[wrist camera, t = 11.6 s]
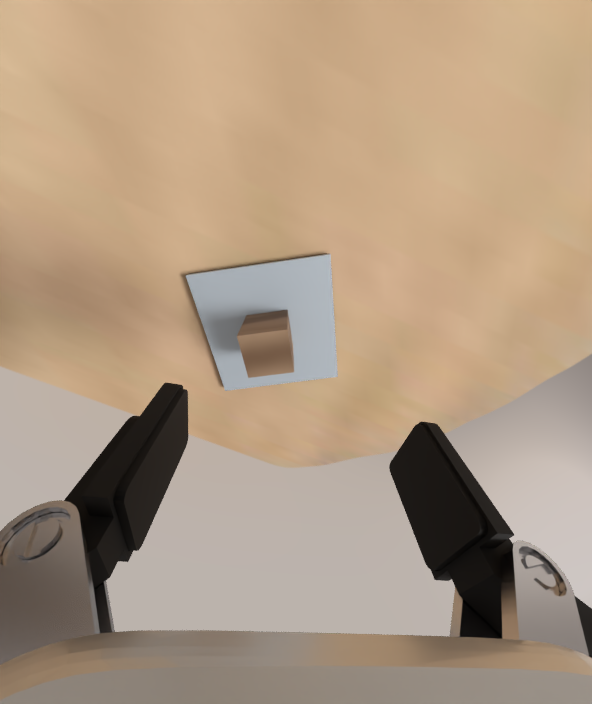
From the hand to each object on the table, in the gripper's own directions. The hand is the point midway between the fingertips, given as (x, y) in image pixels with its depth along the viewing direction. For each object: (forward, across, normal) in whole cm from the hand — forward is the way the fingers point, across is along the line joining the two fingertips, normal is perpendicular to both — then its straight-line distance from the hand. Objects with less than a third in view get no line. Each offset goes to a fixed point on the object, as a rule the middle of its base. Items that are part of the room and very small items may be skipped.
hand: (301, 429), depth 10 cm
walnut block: (+20, +2, +6) cm, 21 cm away
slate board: (+21, +2, +6) cm, 22 cm away
